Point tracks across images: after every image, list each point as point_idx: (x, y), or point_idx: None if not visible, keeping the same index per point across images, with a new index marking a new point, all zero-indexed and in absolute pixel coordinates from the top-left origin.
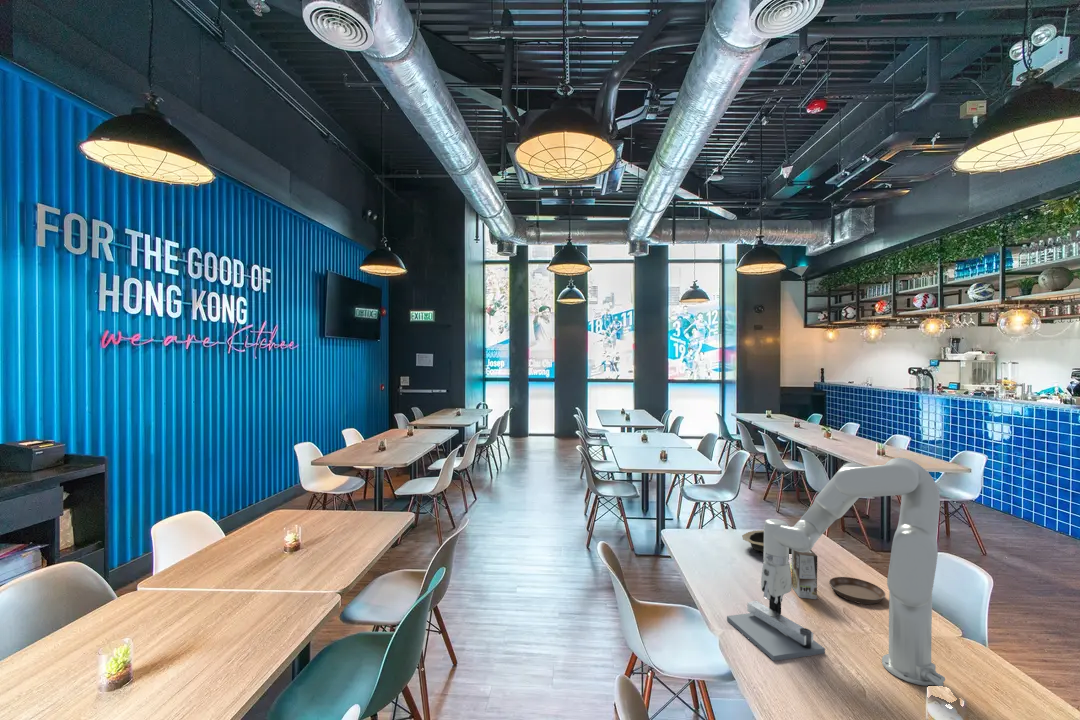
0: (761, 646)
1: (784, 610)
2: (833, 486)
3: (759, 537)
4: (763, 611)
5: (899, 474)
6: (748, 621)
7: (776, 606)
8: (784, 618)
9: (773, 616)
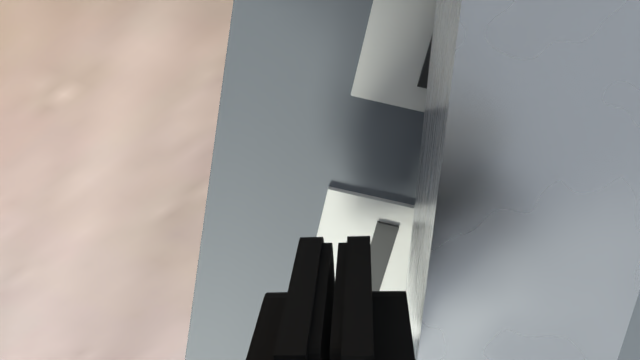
0: None
1: (25, 327)
2: None
3: None
4: (602, 352)
5: None
6: (633, 342)
7: (374, 335)
8: (515, 66)
9: (625, 197)
